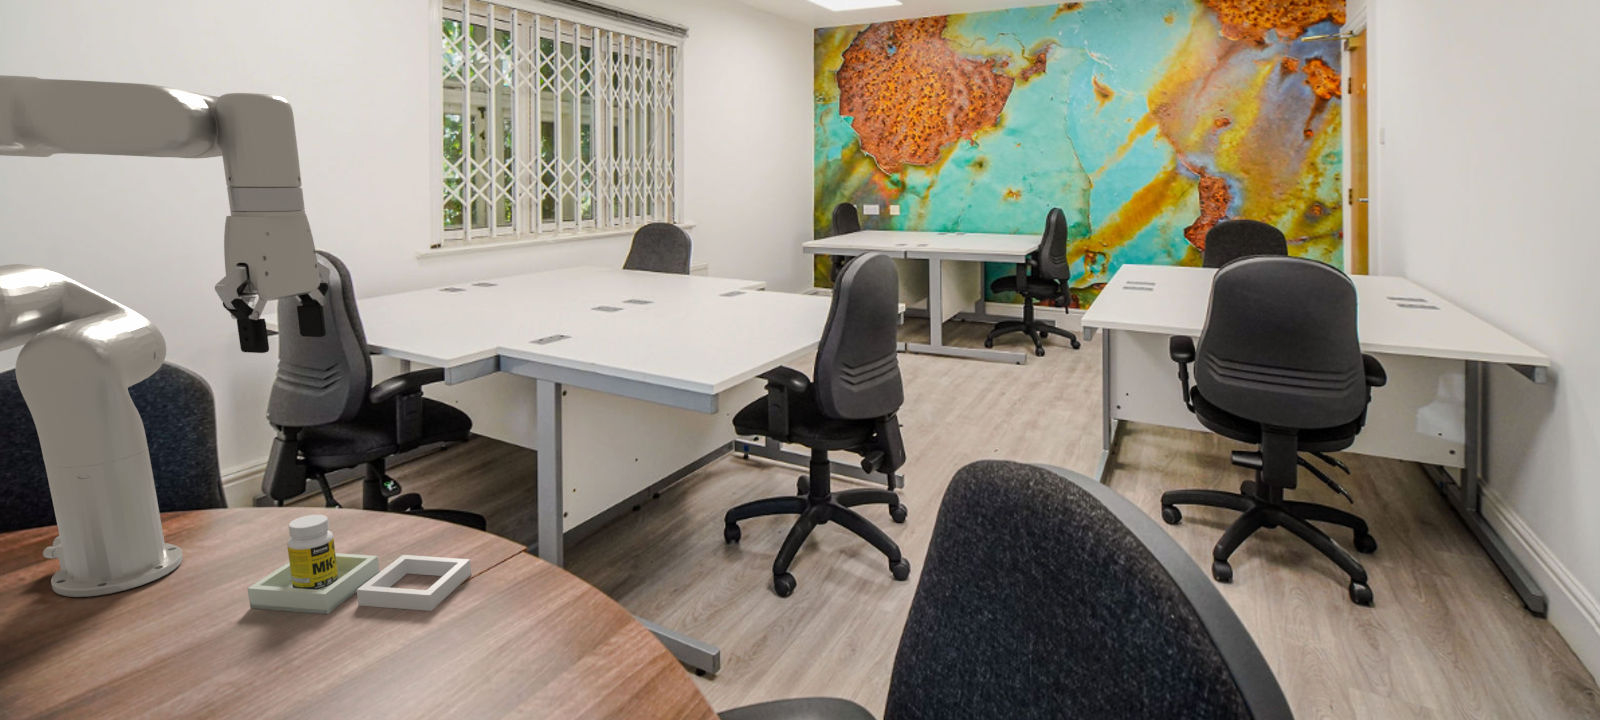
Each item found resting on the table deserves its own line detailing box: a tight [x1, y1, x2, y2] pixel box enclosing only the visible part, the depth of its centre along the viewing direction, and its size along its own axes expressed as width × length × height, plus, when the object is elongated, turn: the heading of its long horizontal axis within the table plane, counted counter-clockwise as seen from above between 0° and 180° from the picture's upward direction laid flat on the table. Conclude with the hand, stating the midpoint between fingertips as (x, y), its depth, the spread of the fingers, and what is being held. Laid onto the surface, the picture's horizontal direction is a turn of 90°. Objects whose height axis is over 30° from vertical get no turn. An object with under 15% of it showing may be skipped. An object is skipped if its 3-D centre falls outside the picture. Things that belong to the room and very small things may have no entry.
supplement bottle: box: [286, 514, 338, 590], centre depth 97 cm, size 5×5×8 cm
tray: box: [247, 552, 381, 615], centre depth 98 cm, size 10×10×2 cm
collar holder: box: [356, 554, 472, 612], centre depth 99 cm, size 9×9×2 cm
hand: (285, 343), depth 101 cm, fingers open, 9 cm apart
